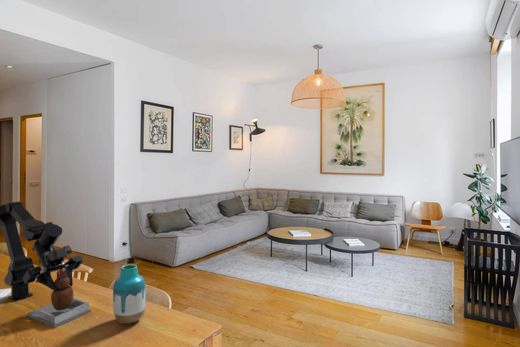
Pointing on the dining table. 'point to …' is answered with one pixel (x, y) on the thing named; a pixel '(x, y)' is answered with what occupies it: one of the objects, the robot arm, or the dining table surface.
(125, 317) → the vase
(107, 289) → the dining table surface
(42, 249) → the robot arm
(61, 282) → the wooden figurine
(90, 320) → the dining table surface
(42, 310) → the grey shallow rectangular tray
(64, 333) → the dining table surface
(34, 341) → the dining table surface
